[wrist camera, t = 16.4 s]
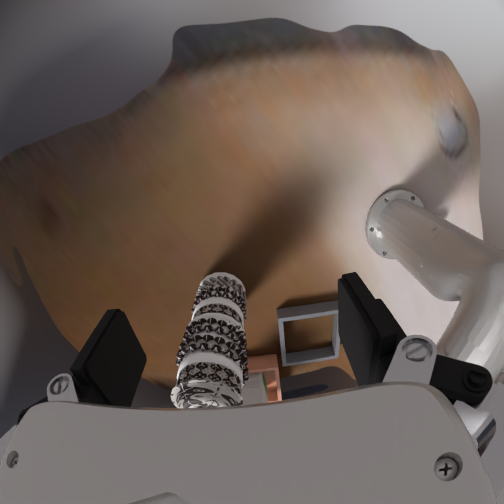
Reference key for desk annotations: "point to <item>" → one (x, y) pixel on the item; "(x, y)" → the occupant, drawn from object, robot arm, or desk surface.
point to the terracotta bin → (267, 373)
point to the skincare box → (255, 389)
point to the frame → (303, 313)
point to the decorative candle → (214, 346)
